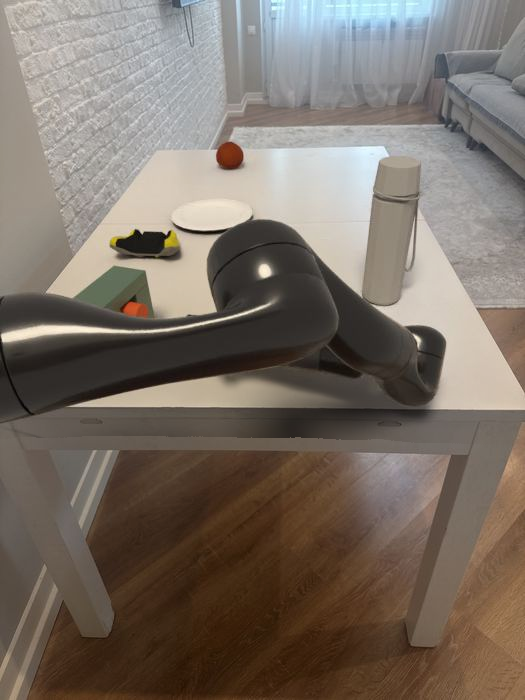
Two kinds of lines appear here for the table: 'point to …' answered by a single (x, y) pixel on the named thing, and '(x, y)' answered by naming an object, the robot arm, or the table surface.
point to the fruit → (229, 155)
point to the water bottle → (391, 228)
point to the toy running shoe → (146, 243)
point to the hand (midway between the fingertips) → (185, 322)
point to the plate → (211, 214)
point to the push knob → (135, 309)
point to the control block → (118, 289)
